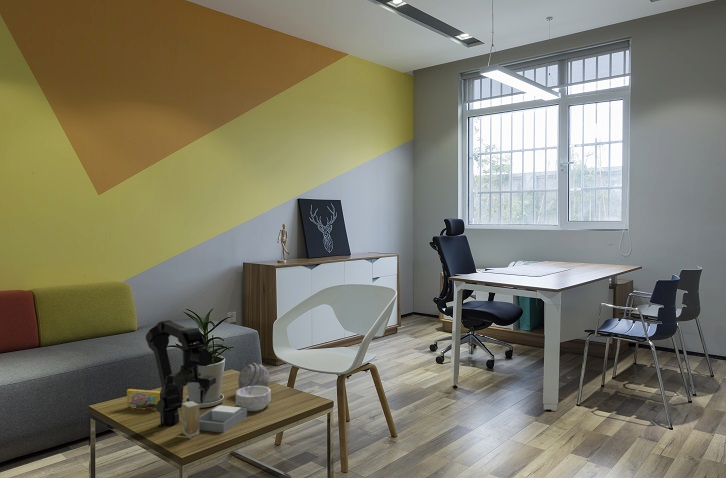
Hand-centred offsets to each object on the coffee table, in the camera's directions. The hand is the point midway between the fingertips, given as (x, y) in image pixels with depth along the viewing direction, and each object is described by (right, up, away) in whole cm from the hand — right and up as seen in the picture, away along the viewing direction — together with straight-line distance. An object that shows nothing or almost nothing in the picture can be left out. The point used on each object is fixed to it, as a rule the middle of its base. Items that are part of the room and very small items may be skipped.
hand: (191, 401), depth 204 cm
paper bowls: (+18, -12, +29) cm, 36 cm away
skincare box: (0, -13, 0) cm, 13 cm away
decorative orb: (+14, -12, +48) cm, 51 cm away
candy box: (-31, -13, +30) cm, 45 cm away
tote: (+8, -12, +11) cm, 19 cm away
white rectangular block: (+10, -12, +15) cm, 22 cm away
